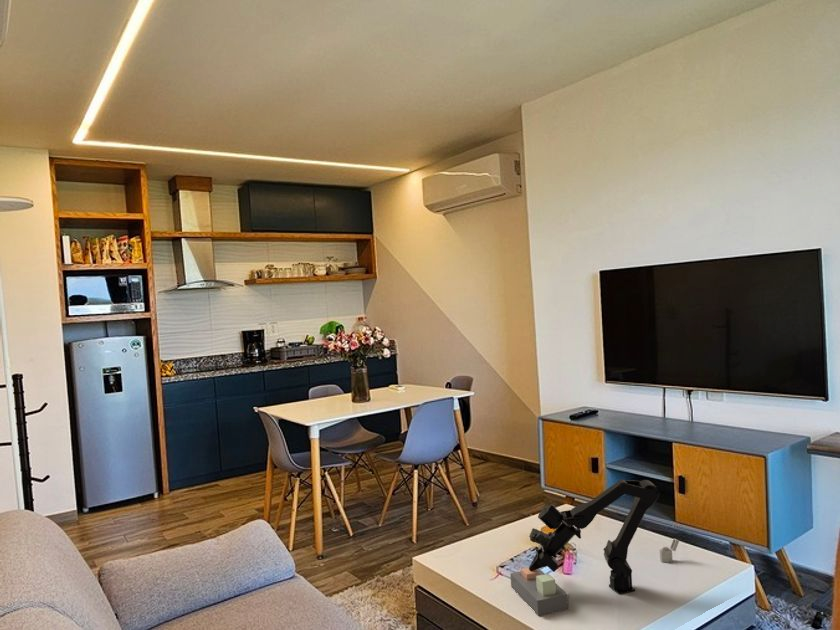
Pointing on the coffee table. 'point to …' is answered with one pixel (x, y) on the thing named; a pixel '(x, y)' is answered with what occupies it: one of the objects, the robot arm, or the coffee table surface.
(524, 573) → the terracotta key
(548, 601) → the keypad
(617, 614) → the coffee table surface
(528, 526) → the coffee table surface
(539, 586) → the sage key
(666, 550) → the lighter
